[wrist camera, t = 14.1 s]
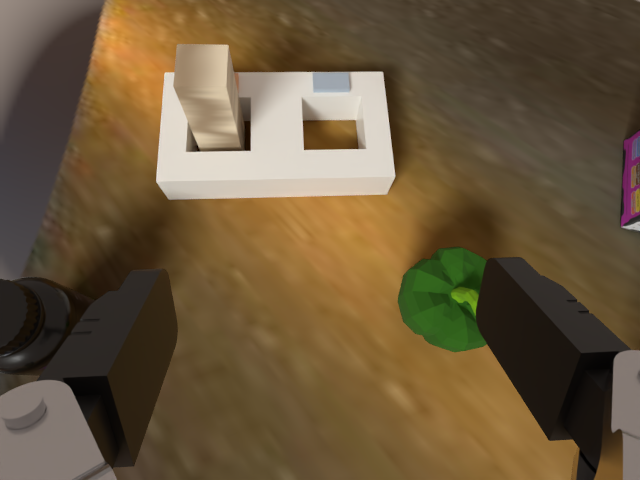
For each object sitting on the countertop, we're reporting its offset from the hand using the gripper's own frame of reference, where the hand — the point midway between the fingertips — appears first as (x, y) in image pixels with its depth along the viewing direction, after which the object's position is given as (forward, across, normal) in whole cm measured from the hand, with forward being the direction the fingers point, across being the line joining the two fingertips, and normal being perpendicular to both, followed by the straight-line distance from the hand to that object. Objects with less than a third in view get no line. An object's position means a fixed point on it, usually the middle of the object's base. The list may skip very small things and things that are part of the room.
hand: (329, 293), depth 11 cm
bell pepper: (+23, -12, +18) cm, 32 cm away
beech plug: (+36, +8, +5) cm, 37 cm away
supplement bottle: (+22, +20, +18) cm, 35 cm away
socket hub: (+36, +2, +5) cm, 36 cm away
